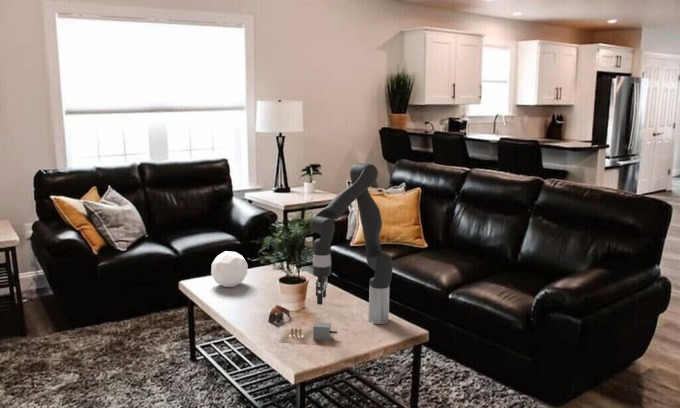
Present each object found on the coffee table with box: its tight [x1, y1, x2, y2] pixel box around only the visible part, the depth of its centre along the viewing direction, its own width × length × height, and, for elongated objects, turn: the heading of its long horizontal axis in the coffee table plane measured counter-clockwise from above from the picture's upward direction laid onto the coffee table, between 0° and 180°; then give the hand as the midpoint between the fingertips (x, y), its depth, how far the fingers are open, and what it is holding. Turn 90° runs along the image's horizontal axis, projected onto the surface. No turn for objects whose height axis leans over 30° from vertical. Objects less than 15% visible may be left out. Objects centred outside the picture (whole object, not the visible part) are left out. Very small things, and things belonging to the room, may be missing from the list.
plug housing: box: [312, 321, 338, 341], centre depth 245 cm, size 10×4×6 cm, turn 83°
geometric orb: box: [210, 250, 249, 288], centre depth 311 cm, size 19×20×20 cm
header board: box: [278, 327, 335, 347], centre depth 247 cm, size 22×14×5 cm, turn 83°
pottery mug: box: [267, 304, 291, 325], centre depth 266 cm, size 12×10×8 cm
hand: (321, 300), depth 243 cm, fingers open, 8 cm apart
